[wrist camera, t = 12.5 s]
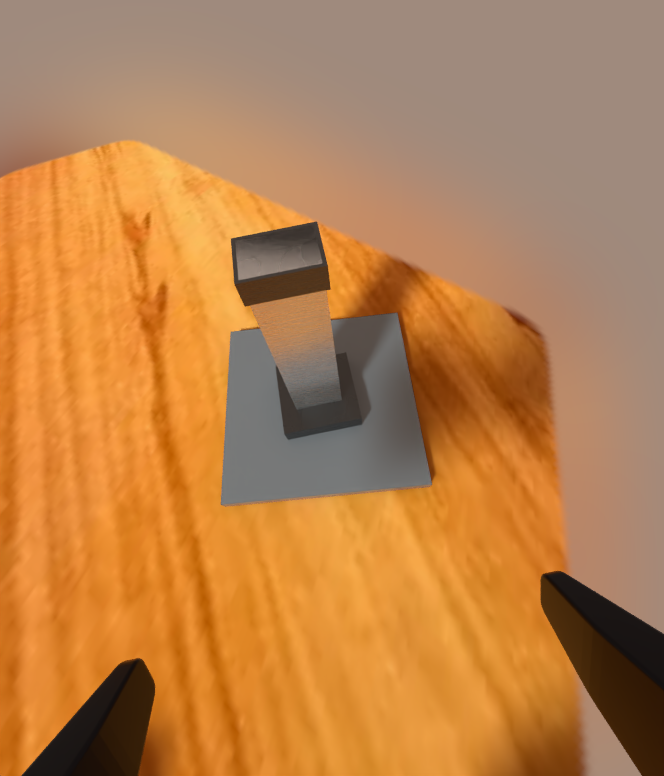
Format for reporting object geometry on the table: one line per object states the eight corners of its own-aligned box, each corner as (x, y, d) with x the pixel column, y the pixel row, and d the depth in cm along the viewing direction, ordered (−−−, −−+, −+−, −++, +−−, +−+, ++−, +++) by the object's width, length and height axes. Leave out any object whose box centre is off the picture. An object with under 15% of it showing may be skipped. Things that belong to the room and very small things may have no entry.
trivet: (429, 486, 22) (432, 484, 21) (225, 506, 23) (220, 504, 22) (396, 319, 28) (397, 312, 27) (234, 337, 28) (230, 331, 28)
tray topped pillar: (361, 424, 23) (360, 290, 12) (287, 439, 23) (211, 319, 12) (346, 360, 26) (332, 194, 14) (279, 374, 26) (207, 219, 14)
